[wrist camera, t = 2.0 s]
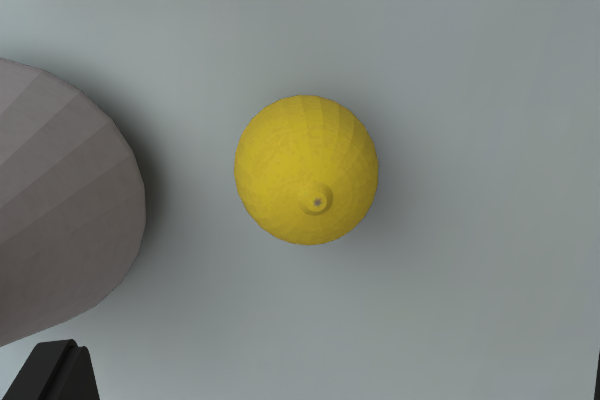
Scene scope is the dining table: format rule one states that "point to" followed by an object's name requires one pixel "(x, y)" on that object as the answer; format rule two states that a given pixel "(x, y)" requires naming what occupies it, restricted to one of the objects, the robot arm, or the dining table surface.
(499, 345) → the dining table surface
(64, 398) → the robot arm
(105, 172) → the coffee pot
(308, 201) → the lemon
